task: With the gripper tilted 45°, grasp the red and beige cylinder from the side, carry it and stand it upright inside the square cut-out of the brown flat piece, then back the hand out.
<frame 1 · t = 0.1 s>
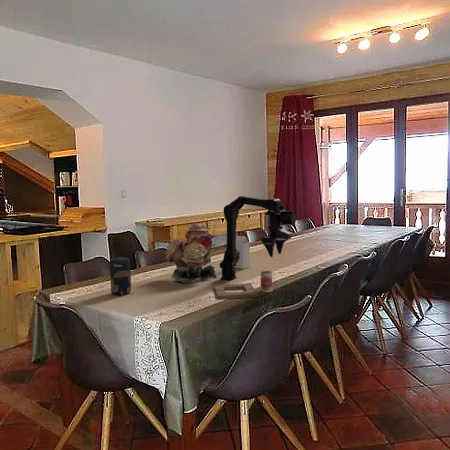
hand: (275, 255, 220), 15 cm above the table, tool pointing down, fingers open, 9 cm apart
rose bouquet: (194, 278, 240), on the table
brown flat piece: (235, 292, 208), on the table
dark blue canister: (121, 293, 212), on the table
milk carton: (241, 267, 265), on the table
red and beige cylinder: (266, 290, 209), on the table
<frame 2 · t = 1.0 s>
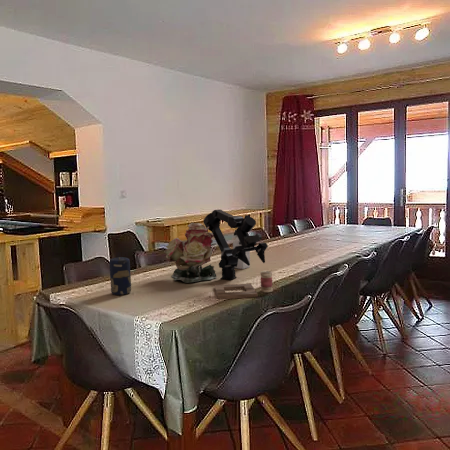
hand: (256, 263, 214), 12 cm above the table, tool tilted 40°, fingers open, 9 cm apart
rose bouquet: (194, 278, 239), on the table, touching arm
everything else where it was.
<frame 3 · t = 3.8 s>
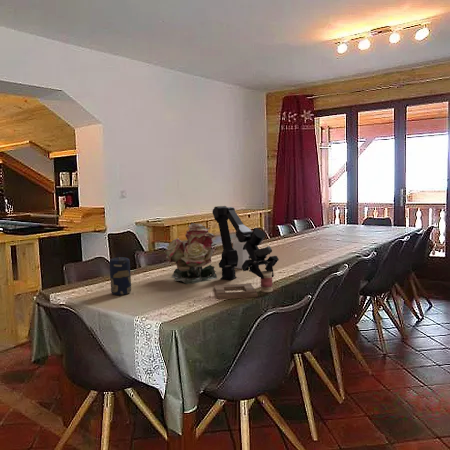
hand: (268, 277, 207), 7 cm above the table, tool tilted 45°, fingers closed on red and beige cylinder, 5 cm apart
rose bouquet: (194, 278, 240), on the table
red and beige cylinder: (266, 290, 209), on the table, touching gripper
everything else where it was.
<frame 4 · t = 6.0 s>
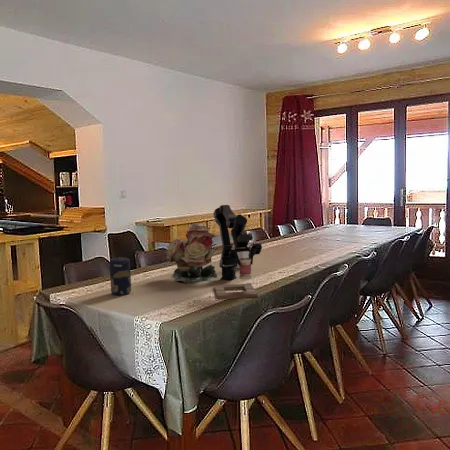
hand: (245, 264, 205), 13 cm above the table, tool tilted 45°, fingers closed on red and beige cylinder, 5 cm apart
red and beige cylinder: (245, 277, 207), point 7 cm above the table, touching gripper
everything else where it was.
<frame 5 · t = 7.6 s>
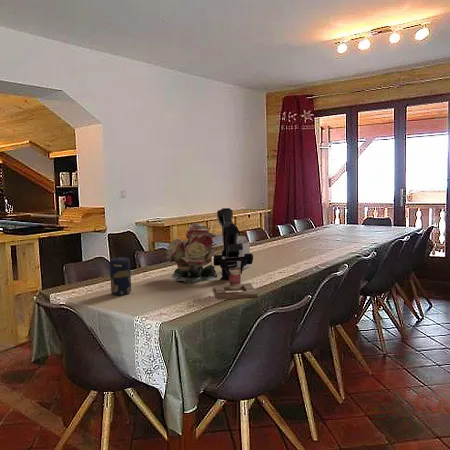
hand: (235, 274, 206), 9 cm above the table, tool tilted 45°, fingers closed on red and beige cylinder, 5 cm apart
red and beige cylinder: (234, 287, 208), point 2 cm above the table, touching gripper
everything else where it was.
when the fingers open (8 cm above the table, at t = 8.7 s): red and beige cylinder drops 1 cm, resting in brown flat piece.
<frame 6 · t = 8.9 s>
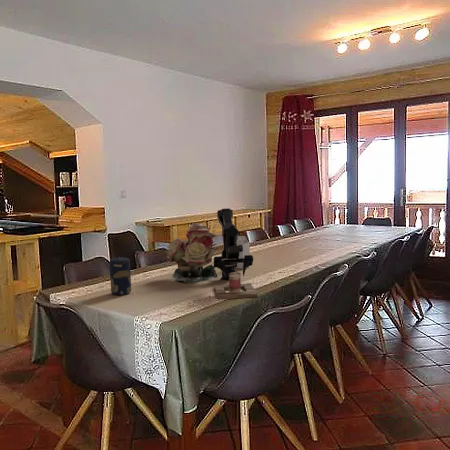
hand: (235, 276, 206), 8 cm above the table, tool tilted 45°, fingers open, 8 cm apart
red and beige cylinder: (235, 292, 208), resting in brown flat piece
everything else where it was.
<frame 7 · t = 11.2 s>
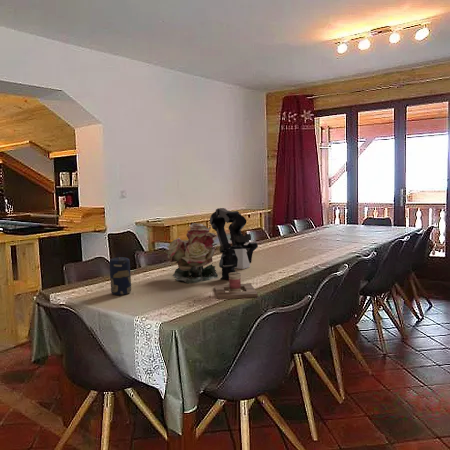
hand: (242, 263, 216), 12 cm above the table, tool tilted 30°, fingers open, 9 cm apart
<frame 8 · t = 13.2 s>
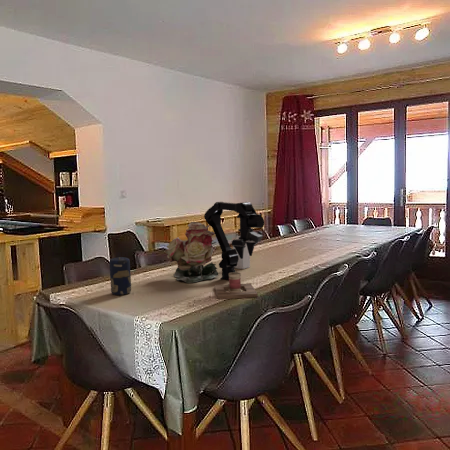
hand: (246, 257, 226), 13 cm above the table, tool pointing down, fingers open, 9 cm apart
rose bouquet: (196, 277, 241), on the table, touching arm
everything else where it was.
at the end: red and beige cylinder 0.0 cm from the brown flat piece (horizontally); red and beige cylinder tilted 0°; the gripper is holding nothing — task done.
